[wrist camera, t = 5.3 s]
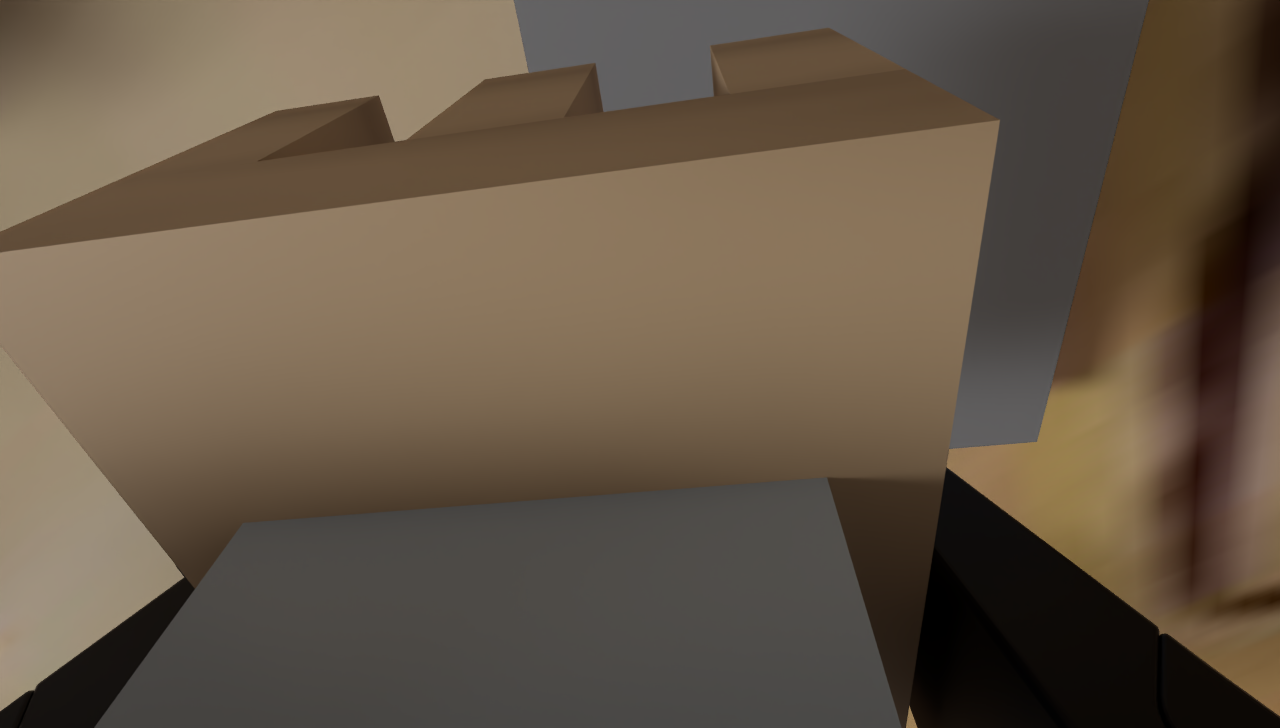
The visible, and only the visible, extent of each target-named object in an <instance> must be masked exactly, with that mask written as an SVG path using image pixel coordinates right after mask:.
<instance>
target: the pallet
mask: <svg viewBox="0 0 1280 728" xmlns="http://www.w3.org/2000/svg"><path fill="white" fill-rule="evenodd" d="M710 52H711V65H712V79H713V92H714V96H713V97H706V98H699V99H692V100H685V101H678V102H671V103H664V104H657V105H649V106H642V107H635V108H628V109H621V110H614V111H607V112H603V106H602V100H601V94H600V88H599V81H598V75H597V69H596V63H591V64H584V65H578V66H571V67H565V68H558V69H551V70H545V71H538V72H531V73H525V74H518V75H512V76H505V77H498V78H492V79H485V80H484V81H482V82H481V83H480V84H479V85H477V86H476V87H475V88H473V89H472V90H471V91H469V92H468V93H467V94H466V95H464V96H463V97H462V98H460V99H459V100H458V101H456V102H455V103H454V104H453V105H451V106H450V107H449V108H447V109H446V110H445V111H443V112H442V113H441V114H440V115H438V116H437V117H436V118H434V119H433V120H432V121H430V122H429V123H428V124H427V125H425V126H424V127H423V128H421V129H420V130H419V131H417V132H416V133H415V134H414V135H412V136H411V137H410V138H408V139H407V140H404V141H397V142H394V139H393V136H392V133H391V130H390V127H389V124H388V121H387V118H386V115H385V112H384V110H383V107H382V104H381V101H380V98H379V96H372V97H366V98H359V99H353V100H346V101H339V102H333V103H326V104H319V105H313V106H306V107H299V108H293V109H286V110H280V111H275V112H273V113H271V114H268V115H266V116H264V117H261V118H259V119H257V120H255V121H252V122H250V123H248V124H245V125H243V126H241V127H239V128H236V129H234V130H232V131H229V132H227V133H225V134H223V135H220V136H218V137H216V138H213V139H211V140H209V141H207V142H204V143H202V144H200V145H197V146H195V147H193V148H191V149H188V150H186V151H184V152H182V153H179V154H177V155H175V156H172V157H170V158H168V159H166V160H163V161H161V162H159V163H156V164H154V165H152V166H150V167H147V168H145V169H143V170H140V171H138V172H136V173H134V174H131V175H129V176H127V177H124V178H122V179H120V180H118V181H115V182H113V183H111V184H108V185H106V186H104V187H102V188H99V189H97V190H95V191H93V192H90V193H88V194H86V195H83V196H81V197H79V198H77V199H74V200H72V201H70V202H67V203H65V204H63V205H61V206H58V207H56V208H54V209H51V210H49V211H47V212H45V213H42V214H40V215H38V216H35V217H33V218H31V219H29V220H26V221H24V222H22V223H19V224H17V225H15V226H13V227H10V228H8V229H6V230H4V231H1V232H0V345H1V347H2V348H3V349H4V350H5V352H6V353H7V354H8V355H9V357H10V358H11V359H12V360H13V362H14V363H15V364H16V365H17V367H18V368H19V369H20V370H21V372H22V373H23V374H24V375H25V377H26V378H27V379H28V380H29V382H30V383H31V384H32V385H33V387H34V388H35V389H36V390H37V392H38V393H39V394H40V395H41V397H42V398H43V399H44V400H45V402H46V403H47V404H48V405H49V407H50V408H51V409H52V410H53V412H54V413H55V414H56V415H57V417H58V418H59V419H60V420H61V422H62V423H63V424H64V425H65V427H66V428H67V429H68V430H69V432H70V433H71V434H72V436H73V437H74V438H75V439H76V441H77V442H78V443H79V444H80V446H81V447H82V448H83V449H84V451H85V452H86V453H87V454H88V456H89V457H90V458H91V459H92V461H93V462H94V463H95V464H96V466H97V467H98V468H99V469H100V471H101V472H102V473H103V474H104V476H105V477H106V478H107V479H108V481H109V482H110V483H111V484H112V486H113V487H114V488H115V489H116V491H117V492H118V493H119V494H120V496H121V497H122V498H123V499H124V501H125V502H126V503H127V504H128V506H129V507H130V508H131V509H132V511H133V512H134V513H135V514H136V516H137V517H138V518H139V519H140V521H141V522H142V523H143V524H144V526H145V527H146V528H147V529H148V531H149V532H150V533H151V534H152V536H153V537H154V538H155V539H156V541H157V542H158V543H159V544H160V546H161V547H162V548H163V549H164V551H165V552H166V553H167V554H168V556H169V557H170V558H171V559H172V561H173V562H174V563H175V564H176V566H177V567H178V568H179V569H180V571H181V572H182V573H183V574H184V576H185V577H186V578H187V579H188V581H189V582H190V583H191V584H192V586H193V587H194V588H196V587H197V586H198V584H199V583H200V582H201V580H202V579H203V577H204V576H205V575H206V573H207V572H208V571H209V569H210V568H211V566H212V565H213V564H214V562H215V561H216V560H217V558H218V557H219V555H220V554H221V553H222V551H223V550H224V549H225V547H226V546H227V544H228V543H229V542H230V540H231V539H232V538H233V536H234V535H235V533H236V532H237V531H238V529H239V528H240V527H241V525H242V524H243V523H249V522H262V521H275V520H288V519H301V518H313V517H326V516H339V515H352V514H365V513H377V512H390V511H403V510H416V509H429V508H441V507H454V506H467V505H480V504H493V503H505V502H518V501H531V500H544V499H556V498H569V497H582V496H595V495H608V494H620V493H633V492H646V491H659V490H672V489H684V488H697V487H710V486H723V485H736V484H748V483H761V482H774V481H787V480H800V479H812V478H825V477H827V479H828V483H829V486H830V490H831V493H832V496H833V500H834V503H835V506H836V510H837V513H838V516H839V520H840V523H841V526H842V530H843V533H844V536H845V540H846V543H847V547H848V550H849V553H850V557H851V560H852V563H853V567H854V570H855V573H856V577H857V580H858V584H859V587H860V590H861V594H862V597H863V600H864V604H865V607H866V610H867V614H868V617H869V620H870V624H871V627H872V630H873V634H874V637H875V641H876V644H877V647H878V651H879V654H880V657H881V661H882V664H883V667H884V671H885V674H886V677H887V681H888V684H889V688H890V691H891V694H892V698H893V701H894V704H895V708H896V711H897V714H898V718H899V721H900V724H901V728H906V723H907V716H908V710H909V704H910V697H911V691H912V684H913V678H914V671H915V665H916V658H917V652H918V646H919V639H920V633H921V626H922V620H923V613H924V607H925V600H926V594H927V588H928V581H929V575H930V568H931V562H932V555H933V549H934V543H935V536H936V530H937V523H938V517H939V510H940V504H941V497H942V491H943V485H944V478H945V472H946V465H947V459H948V452H949V446H950V439H951V433H952V427H953V420H954V414H955V407H956V401H957V394H958V388H959V382H960V375H961V369H962V362H963V356H964V349H965V343H966V336H967V330H968V324H969V317H970V311H971V304H972V298H973V291H974V285H975V278H976V272H977V266H978V259H979V253H980V246H981V240H982V233H983V227H984V220H985V214H986V208H987V201H988V195H989V188H990V182H991V175H992V169H993V163H994V156H995V150H996V143H997V137H998V130H999V124H1000V120H999V119H997V118H995V117H994V116H992V115H990V114H988V113H986V112H984V111H982V110H981V109H979V108H977V107H975V106H973V105H971V104H970V103H968V102H966V101H964V100H962V99H960V98H958V97H957V96H955V95H953V94H951V93H949V92H947V91H945V90H944V89H942V88H940V87H938V86H936V85H934V84H933V83H931V82H929V81H927V80H925V79H923V78H921V77H920V76H918V75H916V74H914V73H912V72H910V71H908V70H907V69H905V68H903V67H901V66H899V65H897V64H896V63H894V62H892V61H890V60H888V59H886V58H884V57H883V56H881V55H879V54H877V53H875V52H873V51H871V50H870V49H868V48H866V47H864V46H862V45H860V44H859V43H857V42H855V41H853V40H851V39H849V38H847V37H846V36H844V35H842V34H840V33H838V32H836V31H834V30H833V29H831V28H823V29H816V30H810V31H803V32H796V33H790V34H783V35H777V36H770V37H763V38H757V39H750V40H743V41H737V42H730V43H724V44H717V45H710Z"/></svg>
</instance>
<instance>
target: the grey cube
mask: <svg viewBox="0 0 1280 728" xmlns="http://www.w3.org/2000/svg"><path fill="white" fill-rule="evenodd" d="M94 728H901V724H900V721H899V718H898V714H897V711H896V708H895V704H894V701H893V698H892V694H891V691H890V688H889V684H888V681H887V677H886V674H885V671H884V667H883V664H882V661H881V657H880V654H879V651H878V647H877V644H876V641H875V637H874V634H873V630H872V627H871V624H870V620H869V617H868V614H867V610H866V607H865V604H864V600H863V597H862V594H861V590H860V587H859V584H858V580H857V577H856V573H855V570H854V567H853V563H852V560H851V557H850V553H849V550H848V547H847V543H846V540H845V536H844V533H843V530H842V526H841V523H840V520H839V516H838V513H837V510H836V506H835V503H834V500H833V496H832V493H831V490H830V486H829V483H828V479H827V477H825V478H812V479H800V480H787V481H774V482H761V483H748V484H736V485H723V486H710V487H697V488H684V489H672V490H659V491H646V492H633V493H620V494H608V495H595V496H582V497H569V498H556V499H544V500H531V501H518V502H505V503H493V504H480V505H467V506H454V507H441V508H429V509H416V510H403V511H390V512H377V513H365V514H352V515H339V516H326V517H313V518H301V519H288V520H275V521H262V522H249V523H243V524H242V525H241V527H240V528H239V529H238V531H237V532H236V533H235V535H234V536H233V538H232V539H231V540H230V542H229V543H228V544H227V546H226V547H225V549H224V550H223V551H222V553H221V554H220V555H219V557H218V558H217V560H216V561H215V562H214V564H213V565H212V566H211V568H210V569H209V571H208V572H207V573H206V575H205V576H204V577H203V579H202V580H201V582H200V583H199V584H198V586H197V587H196V588H195V590H194V591H193V593H192V594H191V595H190V597H189V598H188V599H187V601H186V602H185V604H184V605H183V606H182V608H181V609H180V610H179V612H178V613H177V615H176V616H175V617H174V619H173V620H172V621H171V623H170V624H169V626H168V627H167V628H166V630H165V631H164V632H163V634H162V635H161V637H160V638H159V639H158V641H157V642H156V643H155V645H154V646H153V648H152V649H151V650H150V652H149V653H148V654H147V656H146V657H145V659H144V660H143V661H142V663H141V664H140V666H139V667H138V668H137V670H136V671H135V672H134V674H133V675H132V677H131V678H130V679H129V681H128V682H127V683H126V685H125V686H124V688H123V689H122V690H121V692H120V693H119V694H118V696H117V697H116V699H115V700H114V701H113V703H112V704H111V705H110V707H109V708H108V710H107V711H106V712H105V714H104V715H103V716H102V718H101V719H100V721H99V722H98V723H97V725H96V726H95V727H94Z"/></svg>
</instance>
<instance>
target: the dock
mask: <svg viewBox="0 0 1280 728" xmlns="http://www.w3.org/2000/svg"><path fill="white" fill-rule="evenodd" d="M1148 2H1149V0H514V3H515V8H516V13H517V18H518V22H519V27H520V32H521V37H522V42H523V47H524V51H525V56H526V61H527V66H528V71H529V73H531V72H538V71H545V70H551V69H558V68H565V67H571V66H578V65H584V64H591V63H596V69H597V75H598V81H599V88H600V94H601V100H602V106H603V112H607V111H614V110H621V109H628V108H635V107H642V106H649V105H657V104H664V103H671V102H678V101H685V100H692V99H699V98H706V97H713V96H714V92H713V79H712V65H711V52H710V45H717V44H724V43H730V42H737V41H743V40H750V39H757V38H763V37H770V36H777V35H783V34H790V33H796V32H803V31H810V30H816V29H823V28H831V29H833V30H834V31H836V32H838V33H840V34H842V35H844V36H846V37H847V38H849V39H851V40H853V41H855V42H857V43H859V44H860V45H862V46H864V47H866V48H868V49H870V50H871V51H873V52H875V53H877V54H879V55H881V56H883V57H884V58H886V59H888V60H890V61H892V62H894V63H896V64H897V65H899V66H901V67H903V68H905V69H907V70H908V71H910V72H912V73H914V74H916V75H918V76H920V77H921V78H923V79H925V80H927V81H929V82H931V83H933V84H934V85H936V86H938V87H940V88H942V89H944V90H945V91H947V92H949V93H951V94H953V95H955V96H957V97H958V98H960V99H962V100H964V101H966V102H968V103H970V104H971V105H973V106H975V107H977V108H979V109H981V110H982V111H984V112H986V113H988V114H990V115H992V116H994V117H995V118H997V119H999V120H1000V124H999V130H998V137H997V143H996V150H995V156H994V163H993V169H992V175H991V182H990V188H989V195H988V201H987V208H986V214H985V220H984V227H983V233H982V240H981V246H980V253H979V259H978V266H977V272H976V278H975V285H974V291H973V298H972V304H971V311H970V317H969V324H968V330H967V336H966V343H965V349H964V356H963V362H962V369H961V375H960V382H959V388H958V394H957V401H956V407H955V414H954V420H953V427H952V433H951V439H950V446H949V449H953V448H966V447H978V446H990V445H1002V444H1015V443H1027V442H1037V439H1038V435H1039V432H1040V428H1041V424H1042V420H1043V416H1044V412H1045V408H1046V404H1047V400H1048V396H1049V392H1050V388H1051V384H1052V380H1053V376H1054V372H1055V368H1056V365H1057V361H1058V357H1059V353H1060V349H1061V345H1062V341H1063V337H1064V333H1065V329H1066V325H1067V321H1068V317H1069V313H1070V309H1071V305H1072V301H1073V298H1074V294H1075V290H1076V286H1077V282H1078V278H1079V274H1080V270H1081V266H1082V262H1083V258H1084V254H1085V250H1086V246H1087V242H1088V238H1089V234H1090V231H1091V227H1092V223H1093V219H1094V215H1095V211H1096V207H1097V203H1098V199H1099V195H1100V191H1101V187H1102V183H1103V179H1104V175H1105V171H1106V167H1107V164H1108V160H1109V156H1110V152H1111V148H1112V144H1113V140H1114V136H1115V132H1116V128H1117V124H1118V120H1119V116H1120V112H1121V108H1122V104H1123V100H1124V97H1125V93H1126V89H1127V85H1128V81H1129V77H1130V73H1131V69H1132V65H1133V61H1134V57H1135V53H1136V49H1137V45H1138V41H1139V37H1140V33H1141V30H1142V26H1143V22H1144V18H1145V14H1146V10H1147V6H1148Z"/></svg>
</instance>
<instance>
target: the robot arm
mask: <svg viewBox="0 0 1280 728" xmlns="http://www.w3.org/2000/svg"><path fill="white" fill-rule="evenodd" d="M175 565H176V564H175ZM176 567H177V566H176ZM177 568H178V567H177ZM178 569H179V568H178ZM179 571H180V569H179ZM180 572H181V571H180ZM181 573H182V572H181ZM182 575H183V576H184V574H183V573H182ZM194 590H195V588H194V587H193V586H192V584H191V583H190V582H189V581H188V579H187V578H186V577H185V576H184V578H183V579H181V580H180V581H179V582H177V583H176V584H175V585H173V586H172V587H170V588H169V589H168V590H166V591H165V592H164V593H162V594H161V595H159V596H158V597H157V598H155V599H154V600H153V601H151V602H150V603H149V604H147V605H146V606H144V607H143V608H142V609H140V610H139V611H138V612H136V613H135V614H133V615H132V616H131V617H129V618H128V619H127V620H125V621H124V622H122V623H121V624H120V625H118V626H117V627H116V628H114V629H113V630H111V631H110V632H109V633H107V634H106V635H105V636H103V637H102V638H100V639H99V640H98V641H96V642H95V643H94V644H92V645H91V646H90V647H88V648H87V649H85V650H84V651H83V652H81V653H80V654H79V655H77V656H76V657H74V658H73V659H72V660H70V661H69V662H68V663H66V664H65V665H63V666H62V667H61V668H59V669H58V670H57V671H55V672H54V673H52V674H51V675H50V676H48V677H47V678H46V679H44V680H43V681H41V682H40V683H39V684H38V685H37V686H36V688H35V690H31V691H28V692H26V693H25V694H23V695H22V696H21V697H19V698H18V699H16V700H15V701H14V702H12V703H11V704H10V705H8V706H7V707H6V708H4V709H3V710H1V711H0V728H94V727H95V726H96V725H97V723H98V722H99V721H100V719H101V718H102V716H103V715H104V714H105V712H106V711H107V710H108V708H109V707H110V705H111V704H112V703H113V701H114V700H115V699H116V697H117V696H118V694H119V693H120V692H121V690H122V689H123V688H124V686H125V685H126V683H127V682H128V681H129V679H130V678H131V677H132V675H133V674H134V672H135V671H136V670H137V668H138V667H139V666H140V664H141V663H142V661H143V660H144V659H145V657H146V656H147V654H148V653H149V652H150V650H151V649H152V648H153V646H154V645H155V643H156V642H157V641H158V639H159V638H160V637H161V635H162V634H163V632H164V631H165V630H166V628H167V627H168V626H169V624H170V623H171V621H172V620H173V619H174V617H175V616H176V615H177V613H178V612H179V610H180V609H181V608H182V606H183V605H184V604H185V602H186V601H187V599H188V598H189V597H190V595H191V594H192V593H193V591H194ZM909 705H910V708H911V711H912V714H913V717H914V719H915V722H916V725H917V728H1280V716H1278V715H1277V714H1276V713H1274V712H1273V711H1272V710H1270V709H1269V708H1267V707H1266V706H1265V705H1263V704H1262V703H1261V702H1259V701H1258V700H1256V699H1255V698H1254V697H1252V696H1251V695H1250V694H1248V693H1247V692H1245V691H1244V690H1243V689H1241V688H1240V687H1239V686H1237V685H1236V684H1234V683H1233V682H1232V681H1230V680H1229V679H1227V678H1226V677H1225V676H1223V675H1222V674H1221V673H1219V672H1218V671H1216V670H1215V669H1214V668H1212V667H1211V666H1210V665H1208V664H1207V663H1206V662H1204V661H1203V660H1202V659H1200V658H1199V657H1198V656H1196V655H1195V654H1194V653H1192V652H1191V651H1190V650H1188V649H1187V648H1186V647H1184V646H1183V645H1182V644H1180V643H1179V642H1178V641H1176V640H1175V639H1174V638H1172V637H1171V636H1170V635H1168V634H1161V635H1159V629H1158V627H1157V626H1156V625H1155V624H1153V623H1152V622H1151V621H1149V620H1148V619H1147V618H1145V617H1144V616H1143V615H1141V614H1140V613H1139V612H1138V611H1136V610H1135V609H1134V608H1132V607H1131V606H1130V605H1128V604H1127V603H1126V602H1124V601H1123V600H1122V599H1120V598H1119V597H1118V596H1116V595H1115V594H1114V593H1112V592H1111V591H1110V590H1108V589H1107V588H1106V587H1104V586H1103V585H1102V584H1100V583H1099V582H1098V581H1096V580H1095V579H1094V578H1092V577H1091V576H1090V575H1088V574H1087V573H1086V572H1085V571H1083V570H1082V569H1081V568H1079V567H1078V566H1077V565H1075V564H1074V563H1073V562H1071V561H1070V560H1069V559H1067V558H1066V557H1065V556H1063V555H1062V554H1061V553H1059V552H1058V551H1057V550H1055V549H1054V548H1053V547H1051V546H1050V545H1049V544H1047V543H1046V542H1045V541H1043V540H1042V539H1041V538H1039V537H1038V536H1037V535H1035V534H1034V533H1033V532H1031V531H1030V530H1029V529H1028V528H1026V527H1025V526H1024V525H1022V524H1021V523H1020V522H1018V521H1017V520H1016V519H1014V518H1013V517H1012V516H1010V515H1009V514H1008V513H1006V512H1005V511H1004V510H1002V509H1001V508H1000V507H998V506H997V505H996V504H994V503H993V502H992V501H990V500H989V499H988V498H986V497H985V496H984V495H982V494H981V493H980V492H978V491H977V490H976V489H974V488H973V487H972V486H971V485H969V484H968V483H967V482H965V481H964V480H963V479H961V478H960V477H959V476H957V475H956V474H955V473H953V472H952V471H951V470H949V469H948V468H947V467H946V472H945V478H944V485H943V491H942V497H941V504H940V510H939V517H938V523H937V530H936V536H935V543H934V549H933V555H932V562H931V568H930V575H929V581H928V588H927V594H926V600H925V607H924V613H923V620H922V626H921V633H920V639H919V646H918V652H917V658H916V665H915V671H914V678H913V684H912V691H911V697H910V704H909Z"/></svg>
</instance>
